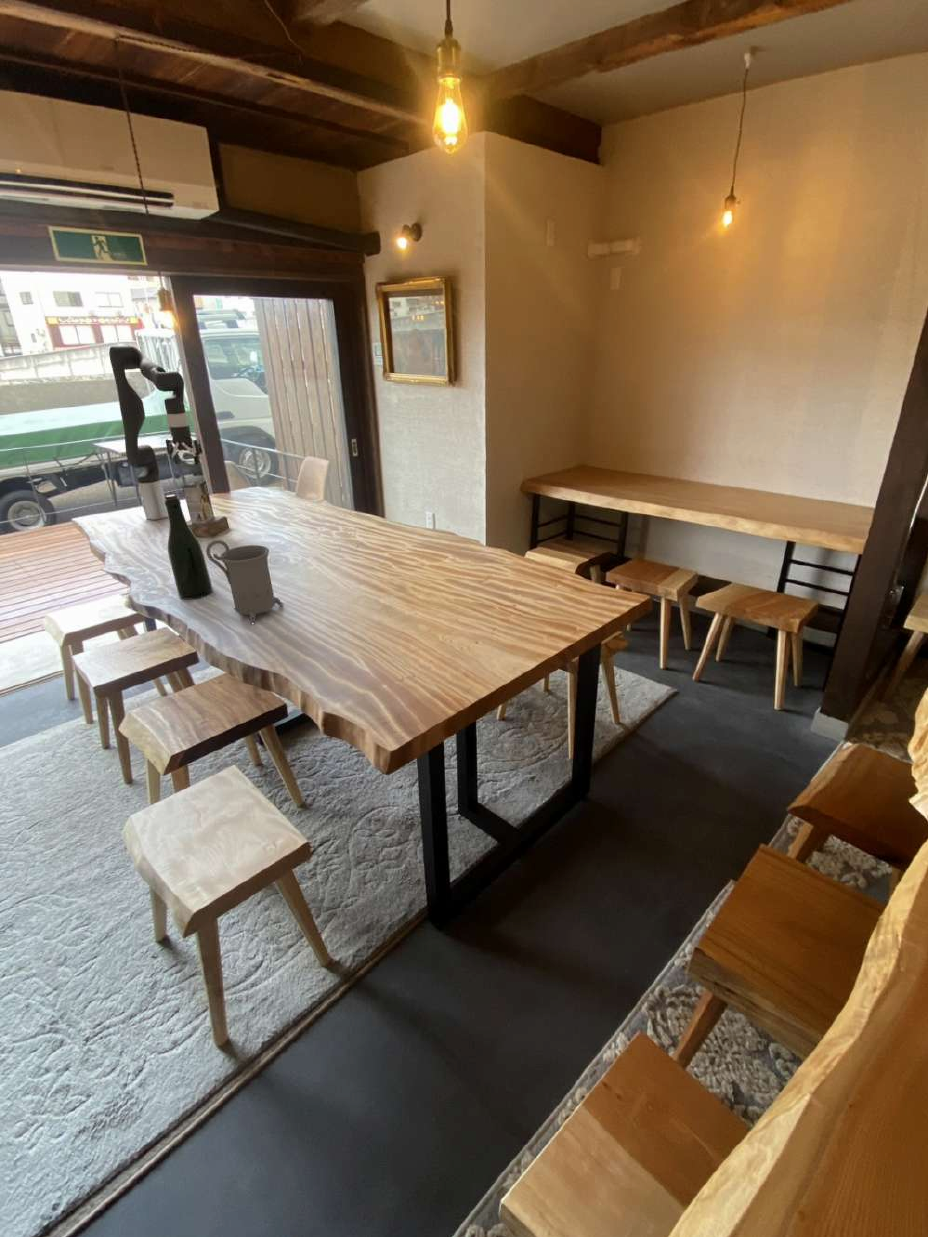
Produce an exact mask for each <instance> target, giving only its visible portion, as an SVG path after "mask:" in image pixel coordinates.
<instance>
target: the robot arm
mask: <svg viewBox="0 0 928 1237" xmlns="http://www.w3.org/2000/svg"><path fill="white" fill-rule="evenodd" d="M108 354H109V356H108V357H109V361H110V364H111V368H112V373H113V377H114V380H115V385H116V390H117V394H118V395H117V396H118V405H119V409H120V416H121V420H122V426H123V434H124V442H125V443H124V445H125V456H126V460H127V462H128V464H129V465H130V466H131V467H132V468H133V469H142V468H144V469H143V471H142V472H141V473H139V474H138V475H137V476H136V480H137V483H138V487H139V491H140V493H141V494H140V495H141V499H140V501H141V504H142V508H143V512H144V514H145V519H146V520H147V519H148V520H152V521H153V520H163V519H165V518H168V513H167V509H166V506H165V500H166V499H165V494H164V490H163V486H162V482H161V479H160V470H159V465H158V459H157V456H156V452H155V451H154V449H153V447H152V446H150V445H149V444H141V445H138V444H139V442H138V441H139V440H138V439H139V434H140V432H141V430H142V428H143V425H144V423H145V419H146V414H145V407H144V401H143V400H142V398H141V397H140V395H139V394H138V393H137V392H136V390H135V389H134V388H133V387H132V385H131V384H130V382H129V381H128V379H127V375H126V371H127V370H137V369H139V371H140V374H141V375H142V376H143V377H144V378H145V379H147V380H148V381H150V382H151V383H152V384H153V385H154V386H155V388H156V389H157V390H158V391H160V392H172V395H171V396H169V397H167V398H165V399H164V401H163V402H164V407H165V411H166V415H167V416H166V417H167V423H168V428H169V432H170V436H171V437H172V438H168V439H165V445H166V451H167V454H168V455H172V457H173V460H174V463H175V465H177V466H180V465H181V463H182V462H181V458H180V455H179V452H180V451H188V452H189V453H191V454H192V456H193V462H194V466H199V465H200V463H201V460H200V455H201V454H203V453H204V451H203V448H202V445H201V440H200V439H199V438H197V439H193V438H192V433H191V428H190V427H191V426H190V422H189V419H188V416H187V413H186V407H185V403H184V397H185V395H184V394H185V393H184V392H185V381H184V378H183V376H182V374H180V372H178V371H166V370H165V369H164V367H162V366H160V365H158V364H157V363H156V362H153V360H150V359H149V357H147V356H146V355H145V354H144V353H143V352H142V351H141V350H139V348H137V347H136V346H134V345H129V344H127V345H124V344H123V345H111V346H110V347H109V350H108ZM125 370H126V371H125ZM173 444H174V447H173Z"/></svg>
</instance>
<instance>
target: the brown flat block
mask: <svg viewBox="0 0 928 1237" xmlns="http://www.w3.org/2000/svg"><path fill="white" fill-rule="evenodd" d="M186 523H187V524H188V526H189V528H190V529H191V531H192V532H193V533H194V535H195V536H196V538H197V539H213V538H215V537H217V536H219V535H220V534H222V533H223V532H225V531H226V530H228V529H230V526H229V525H230V524H229V521H228V517H227V516H225V515H222V516H221V515H220V516H219V515H217V516H216V515H214V518H212V519H211V520H210V521H208V522H207V523H199V524H192V523H191V519H190V520H187V521H186Z"/></svg>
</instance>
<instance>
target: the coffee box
mask: <svg viewBox="0 0 928 1237" xmlns="http://www.w3.org/2000/svg"><path fill="white" fill-rule="evenodd" d="M182 492H183V494H184V495H183V496H184V499H185V502H186V507H187V510H188V514H189V518H190V520H191V523H192V524H199V523H207V522H208V521H210V520H211V519H212V518H214V516H215V515H214V510H213V506H212V500H211V497H210V493H209V488H208V484H207V481H206V480H199V481H197V480H196V481H195V480H194V481H190V482H188V483H187V484H185V485H183V486H182Z"/></svg>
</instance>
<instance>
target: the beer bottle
mask: <svg viewBox="0 0 928 1237" xmlns="http://www.w3.org/2000/svg"><path fill="white" fill-rule="evenodd" d="M164 497H165V506H166V509H167V513H168V517H167V518H168V525H169V531H168V539H167V553H168V558H169V562H170V566H171V571H172V575H173V579H174V583H175V587H176V590H177V593H178V596H179V597H180V598H181V597H182V599H184V598H195V599H198V598H197V597H200V598H202V597H201V596H203V597H205V596H204V595H206V596H207V594H208V595H209V594H211V593H212V590H213V585H212V584H213V583H212V581H211V578H210V576H211V575H210V573H209V570H208V566H207V562H206V559H205V554H204V552H203V549H202V545H201V543H200V541H199V538H196V536H195V535H194V533H193V532H192V531H191V529H190V528H189V526H188V524H187V523H186V522H187V520H186V518H185V515H184V512H183V508H182V503H181V500H180V498H178V496H177V494H167V495H164Z"/></svg>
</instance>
